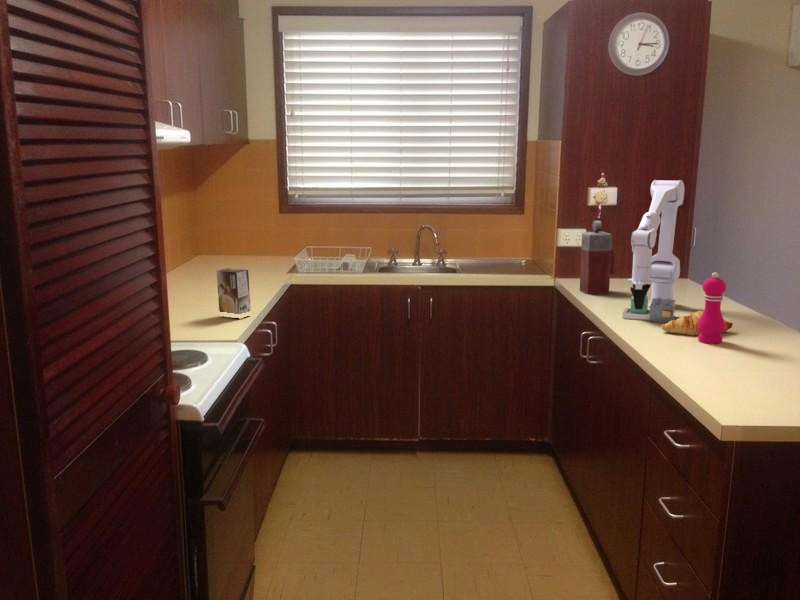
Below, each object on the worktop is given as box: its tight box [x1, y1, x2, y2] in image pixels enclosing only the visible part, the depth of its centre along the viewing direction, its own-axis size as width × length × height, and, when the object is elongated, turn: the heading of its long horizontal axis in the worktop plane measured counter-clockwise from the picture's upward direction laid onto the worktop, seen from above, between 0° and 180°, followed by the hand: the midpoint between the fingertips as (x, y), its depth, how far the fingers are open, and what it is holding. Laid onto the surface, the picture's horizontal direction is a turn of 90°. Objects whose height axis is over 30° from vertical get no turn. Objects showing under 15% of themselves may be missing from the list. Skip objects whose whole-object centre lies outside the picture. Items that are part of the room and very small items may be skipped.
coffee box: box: [216, 267, 252, 314], centre depth 238 cm, size 9×6×16 cm
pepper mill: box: [697, 271, 727, 345], centre depth 200 cm, size 7×7×20 cm
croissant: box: [660, 310, 734, 336], centre depth 212 cm, size 21×10×8 cm, turn 91°
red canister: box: [579, 220, 616, 295], centre depth 275 cm, size 9×11×28 cm
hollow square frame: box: [621, 297, 676, 323], centre depth 232 cm, size 12×16×6 cm
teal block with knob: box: [630, 295, 649, 314], centre depth 233 cm, size 5×5×6 cm
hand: (639, 307), depth 233 cm, fingers closed on teal block with knob, 5 cm apart
